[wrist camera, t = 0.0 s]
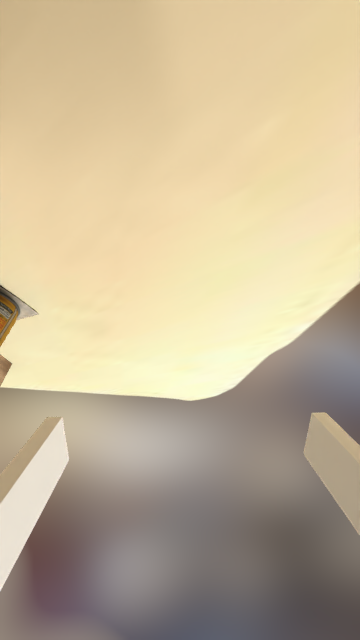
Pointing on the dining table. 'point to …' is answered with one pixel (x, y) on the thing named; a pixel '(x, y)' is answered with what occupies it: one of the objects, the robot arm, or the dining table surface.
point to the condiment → (11, 312)
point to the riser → (4, 368)
